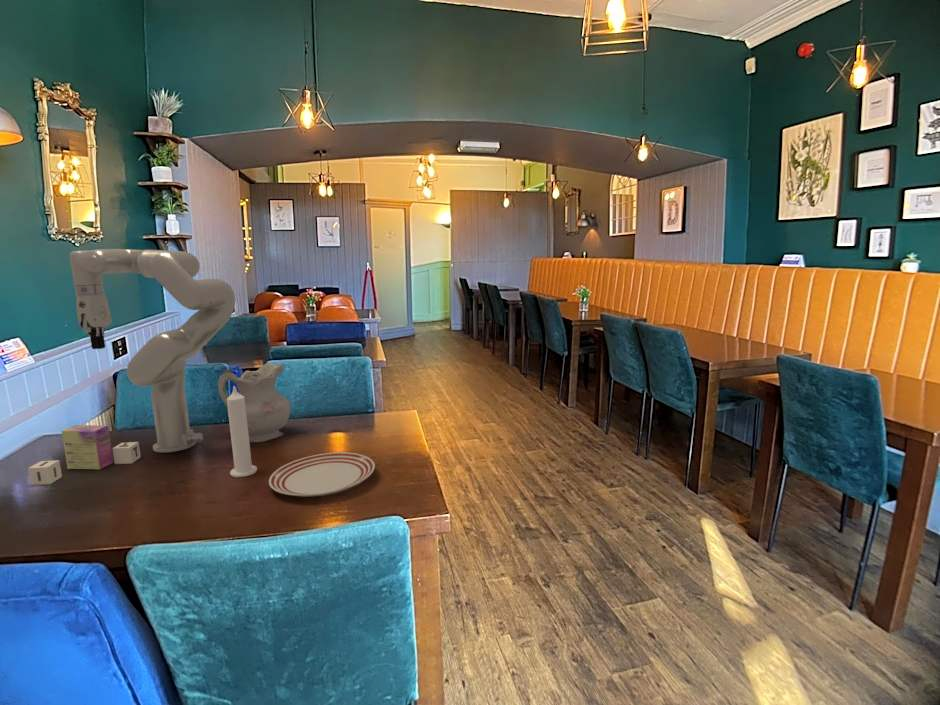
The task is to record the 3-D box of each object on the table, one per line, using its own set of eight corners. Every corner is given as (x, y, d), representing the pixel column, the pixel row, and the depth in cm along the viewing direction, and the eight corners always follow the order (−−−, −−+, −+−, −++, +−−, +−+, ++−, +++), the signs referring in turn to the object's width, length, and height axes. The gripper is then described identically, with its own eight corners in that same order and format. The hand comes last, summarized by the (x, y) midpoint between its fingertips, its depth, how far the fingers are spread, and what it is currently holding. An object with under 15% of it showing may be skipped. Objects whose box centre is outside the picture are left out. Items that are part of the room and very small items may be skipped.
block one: (62, 477, 157) (59, 459, 156) (50, 484, 152) (47, 466, 151) (43, 477, 156) (40, 460, 156) (30, 485, 151) (27, 467, 150)
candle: (262, 468, 158) (253, 383, 154) (245, 478, 152) (235, 390, 147) (242, 466, 161) (233, 382, 156) (224, 475, 154) (214, 388, 149)
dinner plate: (278, 515, 130) (277, 502, 130) (262, 475, 154) (261, 463, 154) (389, 489, 143) (389, 477, 142) (359, 455, 167) (358, 445, 166)
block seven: (141, 457, 170) (139, 441, 169) (132, 463, 165) (130, 447, 164) (124, 458, 170) (121, 442, 169) (114, 464, 165) (112, 447, 164)
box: (114, 462, 167) (108, 424, 164) (100, 470, 161) (93, 431, 159) (82, 462, 168) (76, 424, 165) (67, 469, 162) (60, 430, 160)
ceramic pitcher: (248, 455, 172) (244, 378, 166) (210, 441, 182) (205, 367, 176) (303, 435, 190) (301, 364, 184) (265, 423, 200) (262, 355, 194)
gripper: (87, 292, 166) (96, 352, 170) (115, 288, 181) (123, 344, 184) (61, 293, 166) (71, 353, 169) (91, 289, 180) (100, 344, 184)
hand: (98, 348), depth 177 cm, fingers closed
